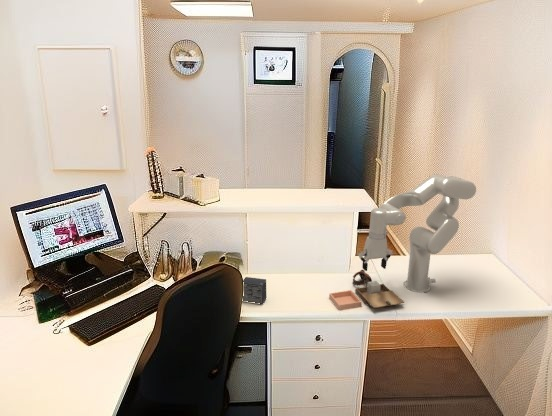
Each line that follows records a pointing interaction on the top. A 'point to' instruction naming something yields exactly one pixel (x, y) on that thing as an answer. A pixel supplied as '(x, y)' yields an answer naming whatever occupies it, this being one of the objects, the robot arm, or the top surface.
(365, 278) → the broken pottery ring
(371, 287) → the stone block
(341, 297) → the terracotta tray
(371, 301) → the sliding lid wooden box
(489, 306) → the top surface
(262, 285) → the small box
